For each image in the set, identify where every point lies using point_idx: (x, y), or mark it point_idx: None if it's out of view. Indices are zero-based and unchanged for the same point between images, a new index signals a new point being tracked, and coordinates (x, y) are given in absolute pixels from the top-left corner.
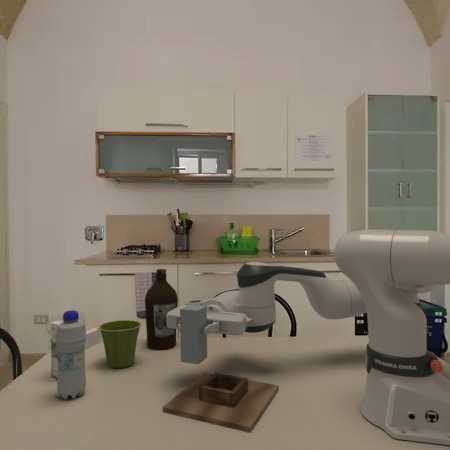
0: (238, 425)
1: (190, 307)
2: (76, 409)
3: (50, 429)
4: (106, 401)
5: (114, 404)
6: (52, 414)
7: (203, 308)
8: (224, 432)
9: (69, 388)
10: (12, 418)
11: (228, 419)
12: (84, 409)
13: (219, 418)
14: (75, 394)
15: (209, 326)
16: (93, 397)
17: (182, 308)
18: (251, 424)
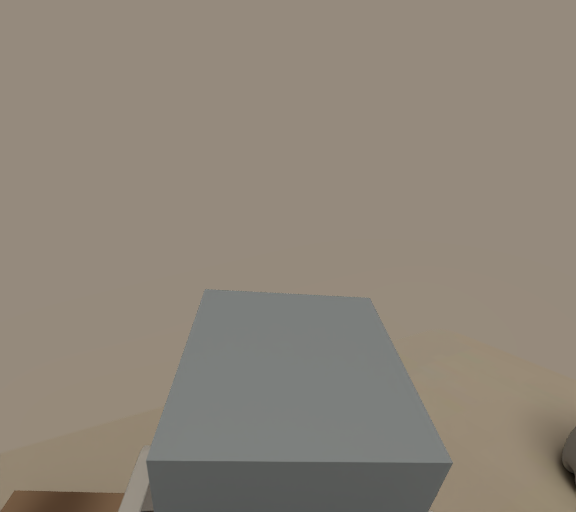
0: (53, 493)
1: (325, 348)
2: (494, 429)
3: (442, 364)
4: (493, 493)
5: (457, 486)
6: (501, 398)
7: (177, 378)
8: (103, 471)
9: (571, 432)
10: (529, 368)
11: (84, 509)
12: (481, 435)
13: (116, 503)
14: (563, 456)
15: (124, 498)
16: (546, 499)
17: (364, 310)
18: (4, 508)
